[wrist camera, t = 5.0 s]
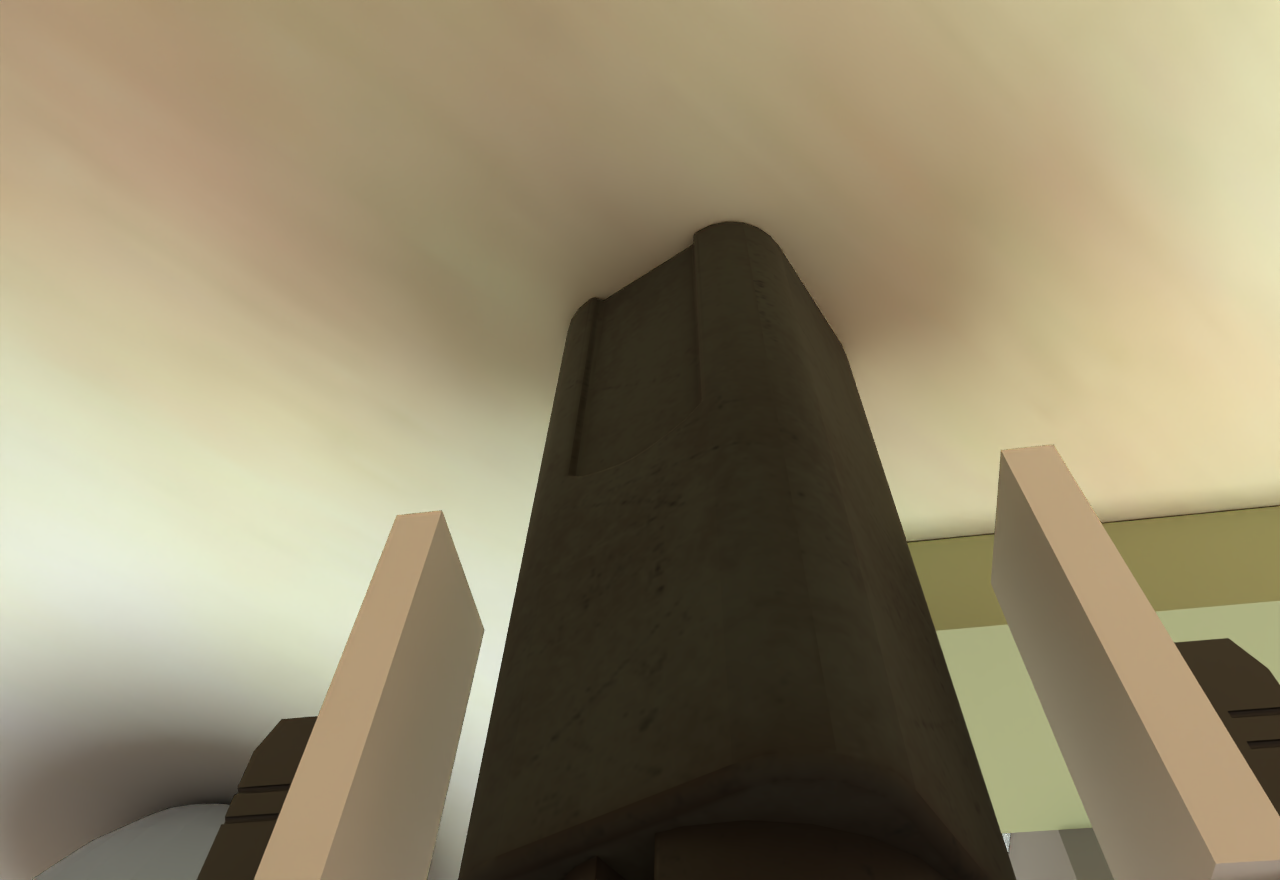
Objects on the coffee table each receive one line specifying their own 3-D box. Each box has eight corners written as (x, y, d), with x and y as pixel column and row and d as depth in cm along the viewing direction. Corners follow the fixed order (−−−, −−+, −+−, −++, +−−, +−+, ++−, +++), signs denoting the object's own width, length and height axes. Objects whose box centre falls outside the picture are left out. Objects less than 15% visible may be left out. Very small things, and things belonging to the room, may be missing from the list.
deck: (780, 907, 33) (794, 1048, 29) (735, 559, 23) (746, 700, 20) (1321, 877, 31) (1411, 1024, 27) (1503, 484, 21) (1677, 624, 18)
